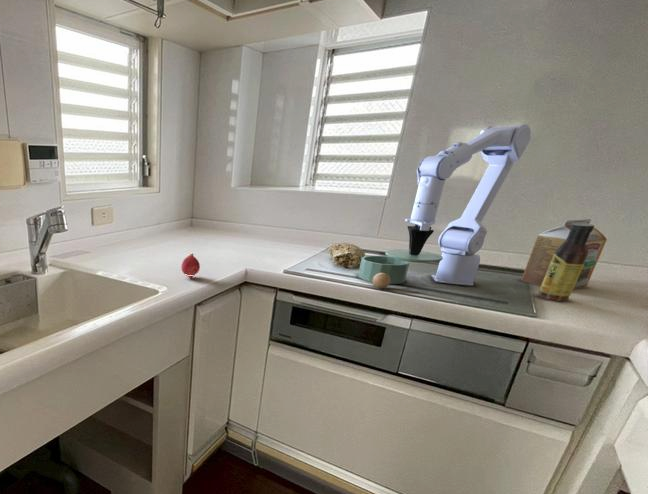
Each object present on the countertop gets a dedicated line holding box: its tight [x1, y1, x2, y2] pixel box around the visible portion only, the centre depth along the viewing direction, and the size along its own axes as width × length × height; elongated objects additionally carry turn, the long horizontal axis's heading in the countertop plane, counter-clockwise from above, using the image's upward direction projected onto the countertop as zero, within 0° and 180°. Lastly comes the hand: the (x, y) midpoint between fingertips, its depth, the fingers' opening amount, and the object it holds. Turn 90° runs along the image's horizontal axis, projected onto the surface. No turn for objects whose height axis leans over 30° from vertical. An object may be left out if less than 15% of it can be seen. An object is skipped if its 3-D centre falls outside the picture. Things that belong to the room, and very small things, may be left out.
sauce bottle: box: [538, 223, 595, 302], centre depth 105 cm, size 6×6×20 cm
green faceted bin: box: [357, 255, 410, 285], centre depth 127 cm, size 13×13×6 cm
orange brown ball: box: [372, 273, 391, 289], centre depth 118 cm, size 5×5×5 cm
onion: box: [181, 252, 201, 279], centre depth 128 cm, size 6×6×8 cm
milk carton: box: [520, 218, 608, 290], centre depth 118 cm, size 11×11×19 cm
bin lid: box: [385, 248, 443, 263], centre depth 115 cm, size 14×14×5 cm
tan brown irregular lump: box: [327, 242, 366, 269], centre depth 147 cm, size 13×8×20 cm
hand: (414, 252), depth 115 cm, fingers closed on bin lid, 2 cm apart
